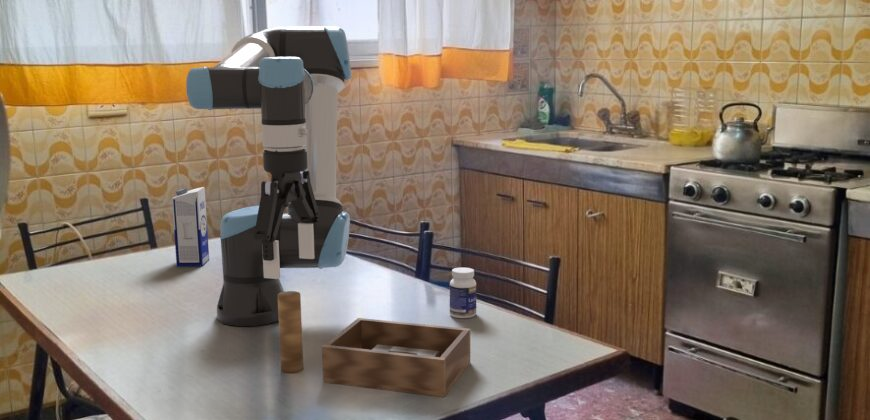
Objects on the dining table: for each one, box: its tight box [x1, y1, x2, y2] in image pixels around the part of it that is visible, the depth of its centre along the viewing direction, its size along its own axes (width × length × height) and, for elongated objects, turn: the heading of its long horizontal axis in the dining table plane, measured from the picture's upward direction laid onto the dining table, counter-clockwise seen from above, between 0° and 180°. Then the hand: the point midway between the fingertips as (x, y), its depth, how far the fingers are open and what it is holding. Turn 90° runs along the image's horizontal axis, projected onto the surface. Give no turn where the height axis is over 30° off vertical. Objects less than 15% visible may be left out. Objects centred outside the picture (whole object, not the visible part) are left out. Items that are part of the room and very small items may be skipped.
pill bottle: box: [449, 267, 477, 319], centre depth 188 cm, size 6×6×10 cm
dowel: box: [278, 290, 304, 374], centre depth 158 cm, size 4×4×14 cm
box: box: [321, 317, 471, 398], centre depth 157 cm, size 22×16×6 cm
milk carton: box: [171, 186, 210, 268], centre depth 231 cm, size 7×7×20 cm
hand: (290, 267), depth 156 cm, fingers open, 13 cm apart
